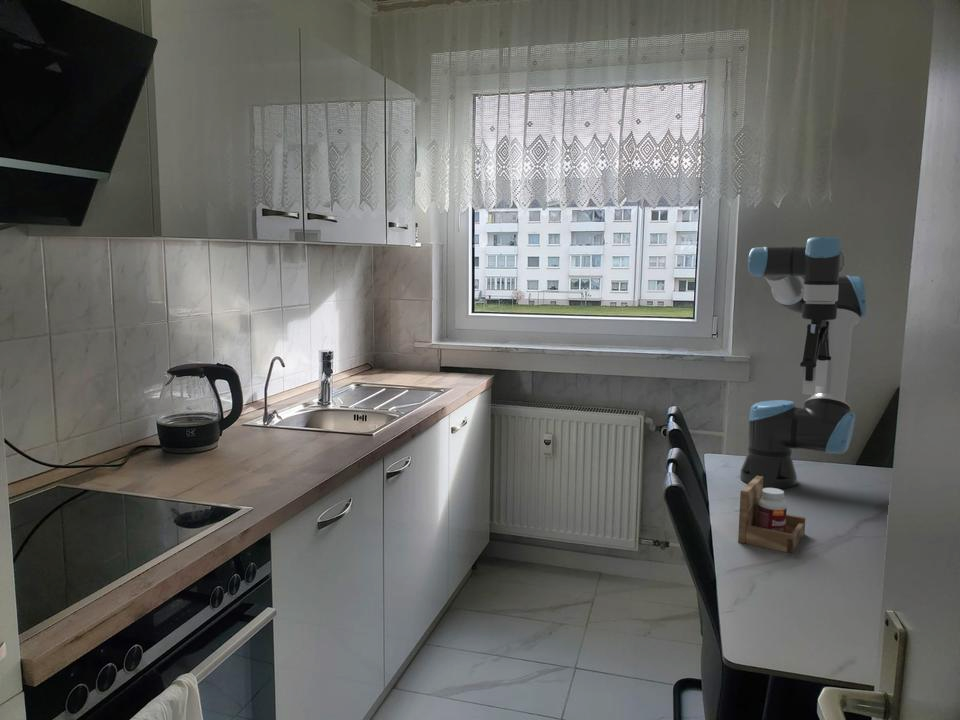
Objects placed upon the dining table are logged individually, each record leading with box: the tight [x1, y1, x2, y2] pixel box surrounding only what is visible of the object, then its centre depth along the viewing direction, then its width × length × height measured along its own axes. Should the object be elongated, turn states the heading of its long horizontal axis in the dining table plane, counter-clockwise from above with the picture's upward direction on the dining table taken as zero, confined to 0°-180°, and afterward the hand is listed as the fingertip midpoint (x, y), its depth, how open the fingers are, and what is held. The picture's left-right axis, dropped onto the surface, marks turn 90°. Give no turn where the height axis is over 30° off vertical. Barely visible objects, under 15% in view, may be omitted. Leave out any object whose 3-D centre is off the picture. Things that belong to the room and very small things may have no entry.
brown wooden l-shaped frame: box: [737, 476, 806, 554], centre depth 164 cm, size 14×11×12 cm
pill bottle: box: [756, 487, 788, 532], centre depth 164 cm, size 6×6×11 cm
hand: (814, 390), depth 175 cm, fingers open, 13 cm apart
